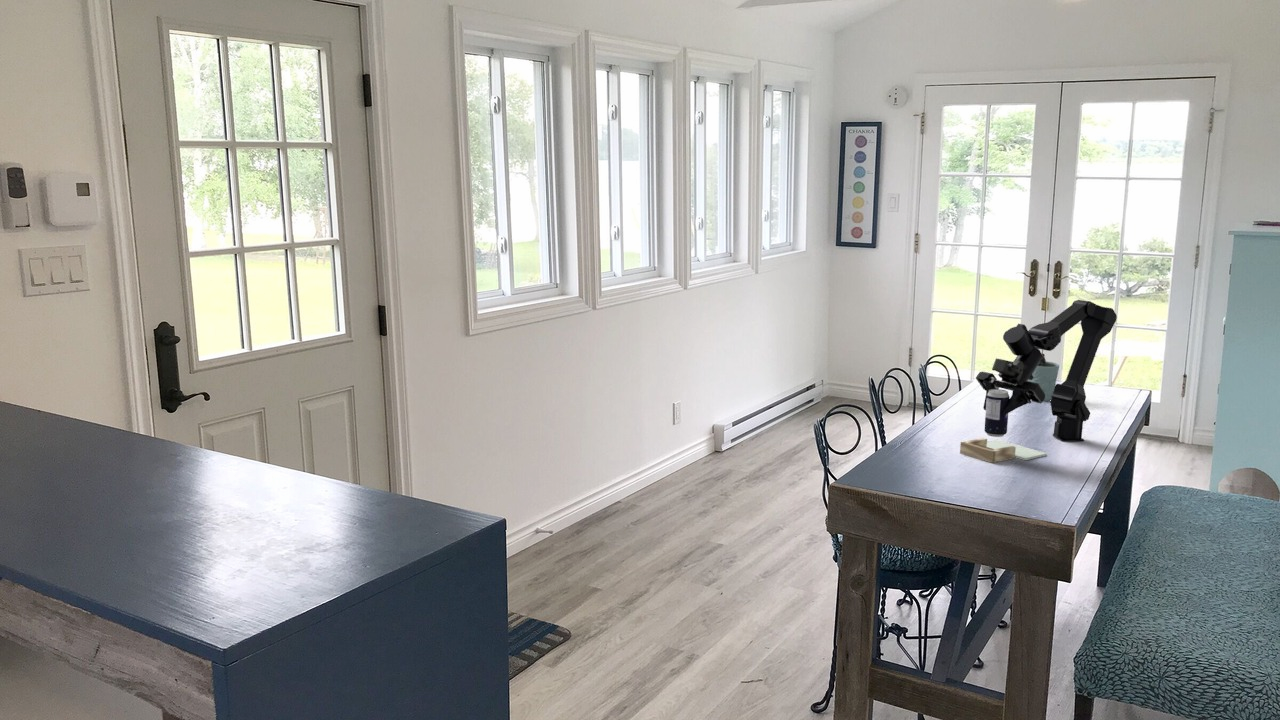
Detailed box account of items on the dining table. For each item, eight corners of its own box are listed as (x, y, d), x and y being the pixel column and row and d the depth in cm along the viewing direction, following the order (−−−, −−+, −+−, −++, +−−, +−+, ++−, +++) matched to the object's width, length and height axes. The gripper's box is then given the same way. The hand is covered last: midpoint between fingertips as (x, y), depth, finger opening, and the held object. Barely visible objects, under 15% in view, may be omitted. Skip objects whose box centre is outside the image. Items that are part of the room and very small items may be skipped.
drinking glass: (1032, 393, 337) (1035, 359, 335) (1061, 398, 330) (1064, 363, 328) (1018, 397, 330) (1021, 363, 328) (1047, 403, 323) (1051, 367, 321)
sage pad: (997, 441, 276) (997, 439, 276) (1046, 455, 262) (1046, 453, 262) (975, 445, 271) (975, 443, 271) (1024, 460, 258) (1025, 458, 258)
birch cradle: (982, 448, 268) (983, 437, 268) (1014, 457, 260) (1015, 446, 259) (959, 452, 264) (960, 442, 263) (991, 462, 255) (992, 451, 254)
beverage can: (1008, 438, 259) (1011, 394, 256) (985, 437, 260) (988, 393, 258) (1004, 432, 264) (1008, 389, 262) (982, 431, 265) (985, 388, 263)
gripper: (982, 342, 267) (952, 386, 264) (1041, 353, 252) (1010, 400, 248) (999, 367, 273) (970, 411, 269) (1058, 379, 257) (1028, 426, 254)
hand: (993, 411), depth 260 cm, fingers closed on beverage can, 6 cm apart
